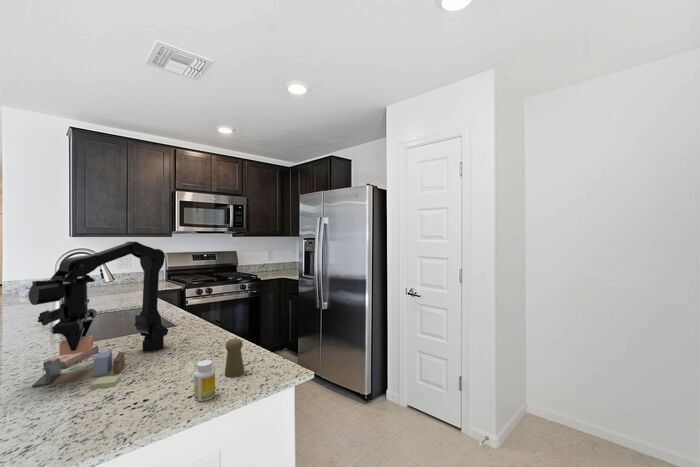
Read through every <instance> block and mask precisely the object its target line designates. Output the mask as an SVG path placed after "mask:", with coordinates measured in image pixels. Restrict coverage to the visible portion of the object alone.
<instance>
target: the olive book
mask: <svg viewBox="0 0 700 467" xmlns="http://www.w3.org/2000/svg"><path fill="white" fill-rule="evenodd" d="M120 381H122V375H120V374H118V375H110V376H104V377H97V378H95V380H94V381H93V382H92V383H90V385H89V388H90V389H89V390H94V389H96V390H97V389H104V388H113V387H115V386H116V385H118V383H119V382H120Z"/></svg>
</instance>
